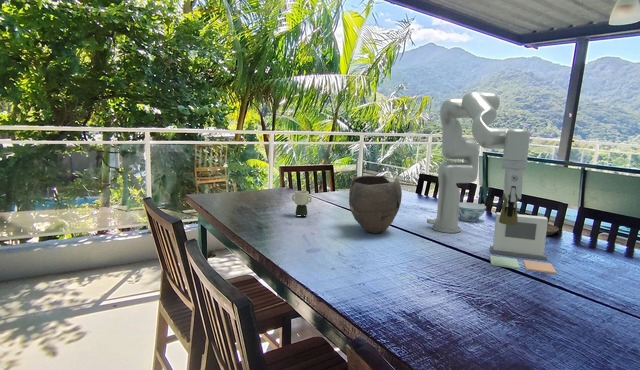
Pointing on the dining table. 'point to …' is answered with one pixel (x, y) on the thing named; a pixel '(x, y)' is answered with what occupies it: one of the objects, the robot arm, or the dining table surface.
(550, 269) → the terracotta pad
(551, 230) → the plant saucer
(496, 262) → the sage pad
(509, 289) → the dining table surface
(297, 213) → the trophy cup
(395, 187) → the clay pot
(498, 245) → the white display panel
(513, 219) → the olive pepper shaker
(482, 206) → the chinaware
